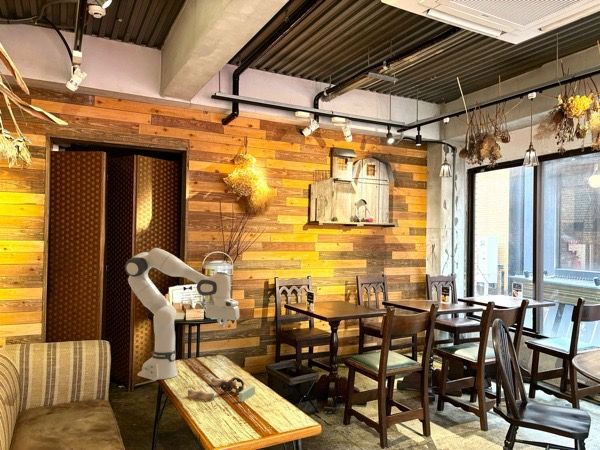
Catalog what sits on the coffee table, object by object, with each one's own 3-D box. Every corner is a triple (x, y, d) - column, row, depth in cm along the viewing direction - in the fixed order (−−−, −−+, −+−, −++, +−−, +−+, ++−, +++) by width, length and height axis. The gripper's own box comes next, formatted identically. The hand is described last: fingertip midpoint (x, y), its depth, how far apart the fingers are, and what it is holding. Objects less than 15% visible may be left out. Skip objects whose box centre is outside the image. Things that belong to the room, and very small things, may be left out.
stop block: (238, 401, 217) (238, 392, 217) (251, 393, 228) (251, 385, 228) (242, 401, 216) (242, 393, 216) (254, 394, 227) (254, 386, 227)
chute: (187, 396, 223) (187, 390, 223) (213, 383, 243) (213, 377, 243) (211, 400, 217) (211, 394, 217) (235, 387, 238) (236, 381, 238)
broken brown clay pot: (236, 388, 237) (242, 376, 235) (241, 402, 229) (247, 389, 227) (215, 386, 231) (221, 373, 229) (219, 400, 223) (226, 387, 221)
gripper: (203, 301, 251) (202, 326, 250) (234, 303, 242) (234, 329, 242) (209, 300, 256) (209, 324, 256) (241, 302, 248) (240, 327, 248)
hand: (222, 327), depth 249 cm, fingers closed
